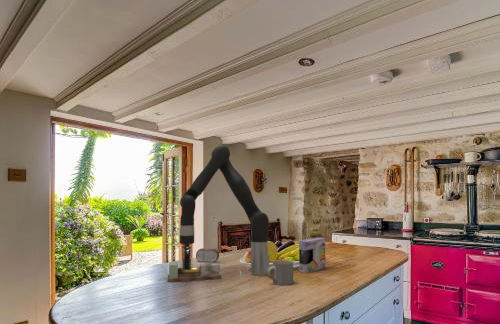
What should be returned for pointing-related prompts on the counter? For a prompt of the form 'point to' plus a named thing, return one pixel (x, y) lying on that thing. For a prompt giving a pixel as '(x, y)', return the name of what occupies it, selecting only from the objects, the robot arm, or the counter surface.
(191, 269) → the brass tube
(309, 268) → the cake pan box
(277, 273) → the coffee mug
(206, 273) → the stand
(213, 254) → the tin
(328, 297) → the counter surface
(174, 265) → the socket block
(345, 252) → the counter surface
